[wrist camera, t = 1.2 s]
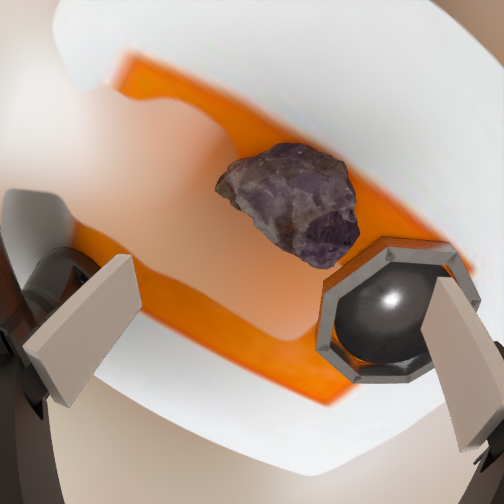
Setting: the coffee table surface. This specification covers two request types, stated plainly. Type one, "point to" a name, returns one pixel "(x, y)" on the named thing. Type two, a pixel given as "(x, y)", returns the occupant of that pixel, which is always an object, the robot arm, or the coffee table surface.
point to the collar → (386, 309)
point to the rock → (296, 201)
